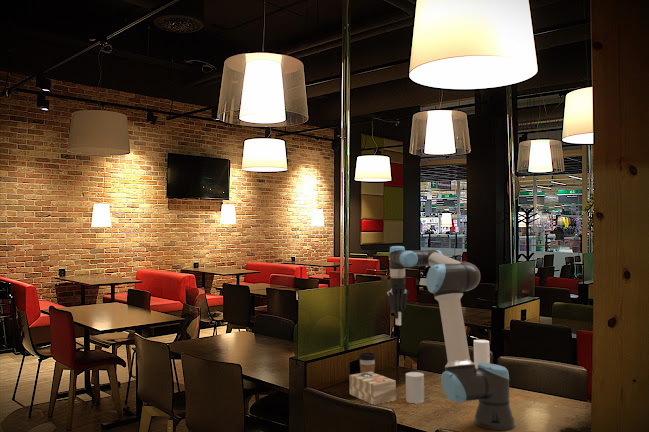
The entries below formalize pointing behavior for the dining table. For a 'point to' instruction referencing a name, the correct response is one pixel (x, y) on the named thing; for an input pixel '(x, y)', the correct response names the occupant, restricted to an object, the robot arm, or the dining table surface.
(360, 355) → the coffee cup
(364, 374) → the peg steel
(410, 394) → the cup
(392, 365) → the dining table surface
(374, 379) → the peg terracotta
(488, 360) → the cylindrical container
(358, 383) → the birch block
